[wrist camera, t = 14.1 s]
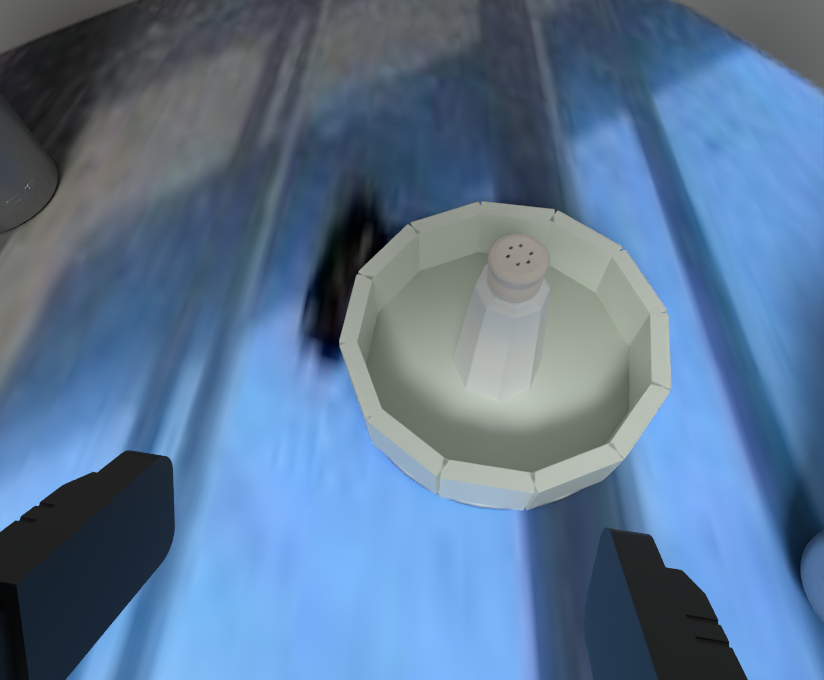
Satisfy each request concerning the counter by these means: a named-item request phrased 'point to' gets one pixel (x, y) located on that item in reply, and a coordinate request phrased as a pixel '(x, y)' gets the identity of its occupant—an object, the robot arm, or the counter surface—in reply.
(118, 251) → the counter surface
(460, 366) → the salt shaker
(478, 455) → the bowl
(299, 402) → the counter surface
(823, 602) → the plastic bottle
